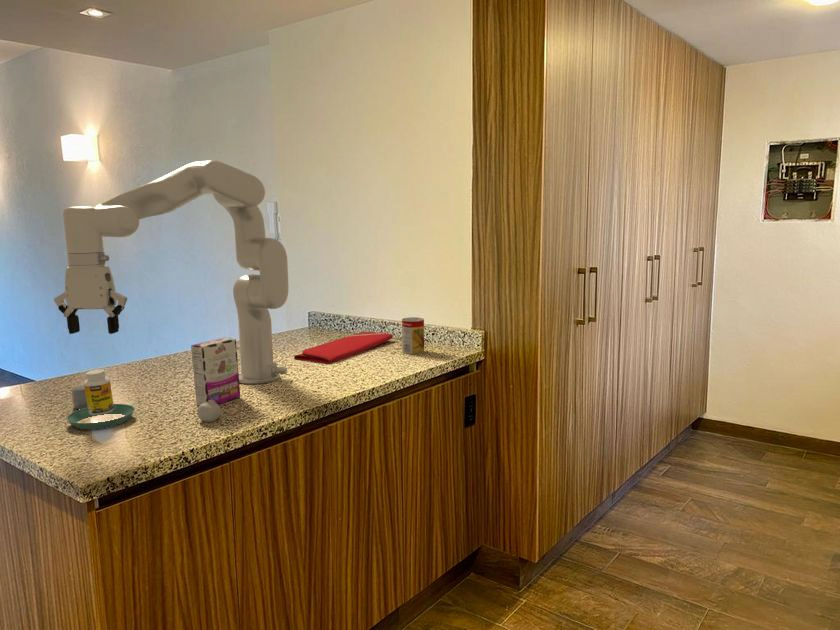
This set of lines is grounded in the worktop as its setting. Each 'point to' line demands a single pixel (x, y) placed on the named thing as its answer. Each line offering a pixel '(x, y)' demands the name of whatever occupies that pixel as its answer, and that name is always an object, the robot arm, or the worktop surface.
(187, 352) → the worktop surface
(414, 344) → the canned food
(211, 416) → the garlic
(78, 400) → the grey short cylinder
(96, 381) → the supplement bottle
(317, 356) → the dish drying mat
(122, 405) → the saucer
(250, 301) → the robot arm
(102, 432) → the worktop surface
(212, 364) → the candy bar box
